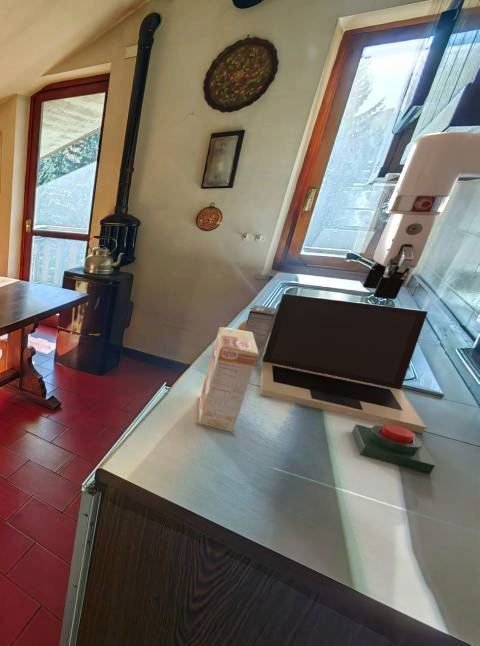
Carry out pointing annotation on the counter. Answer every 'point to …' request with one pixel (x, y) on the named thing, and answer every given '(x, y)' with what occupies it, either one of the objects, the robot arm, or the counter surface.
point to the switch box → (392, 449)
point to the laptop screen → (345, 339)
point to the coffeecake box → (227, 378)
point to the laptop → (340, 396)
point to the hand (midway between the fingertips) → (377, 292)
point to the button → (397, 433)
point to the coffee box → (261, 327)
